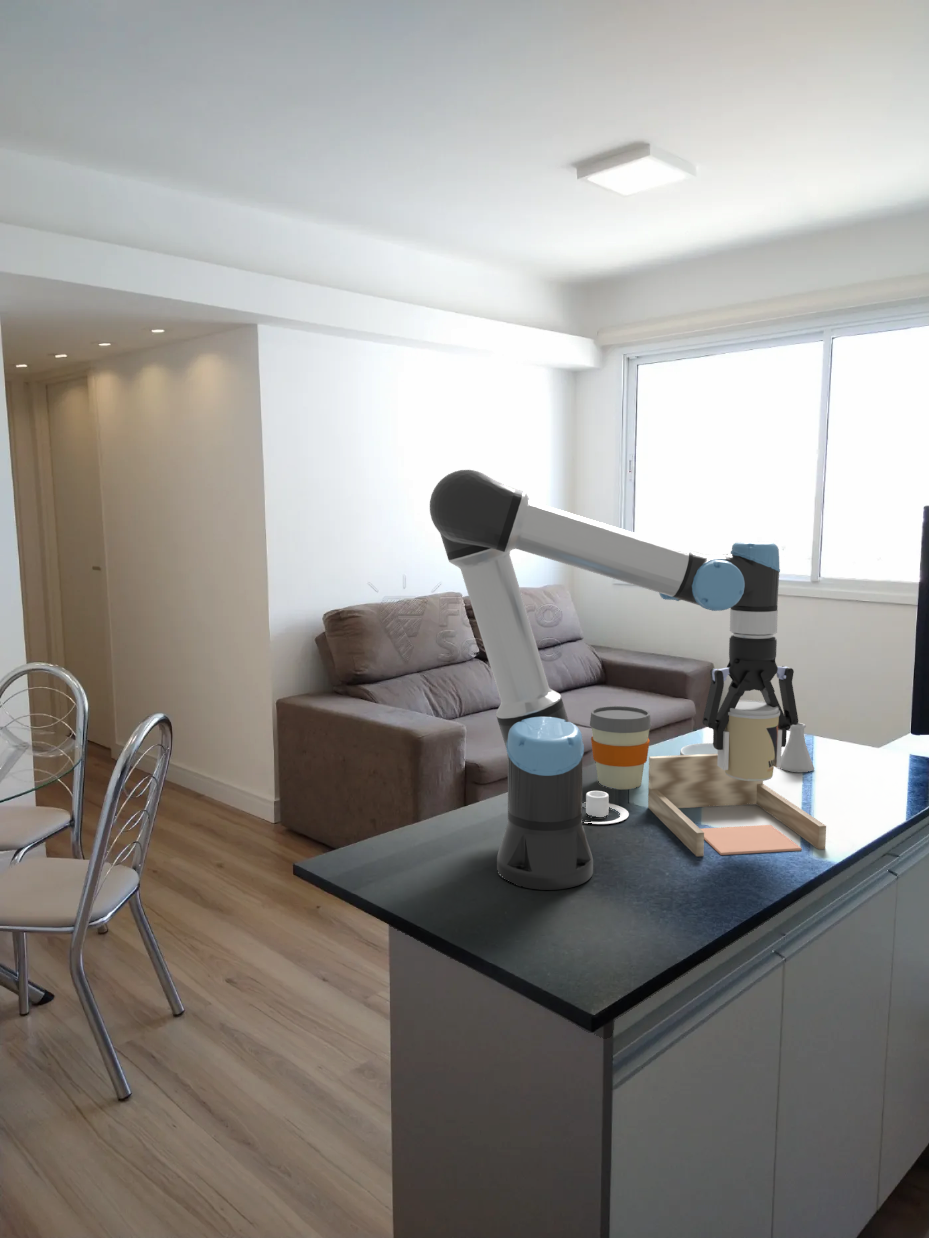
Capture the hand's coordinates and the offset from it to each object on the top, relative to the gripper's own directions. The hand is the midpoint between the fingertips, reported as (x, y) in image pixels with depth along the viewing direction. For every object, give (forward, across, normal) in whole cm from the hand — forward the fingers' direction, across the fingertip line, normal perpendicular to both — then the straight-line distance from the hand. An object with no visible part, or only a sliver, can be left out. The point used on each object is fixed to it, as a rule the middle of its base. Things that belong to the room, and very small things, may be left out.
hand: (748, 766), depth 148 cm
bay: (+13, 0, -7) cm, 15 cm away
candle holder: (+14, +22, -16) cm, 31 cm away
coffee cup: (+2, 0, 0) cm, 2 cm away
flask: (+13, -29, -38) cm, 50 cm away
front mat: (+13, 0, 0) cm, 13 cm away
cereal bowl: (+13, -8, -29) cm, 33 cm away
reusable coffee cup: (+13, +12, -34) cm, 39 cm away
